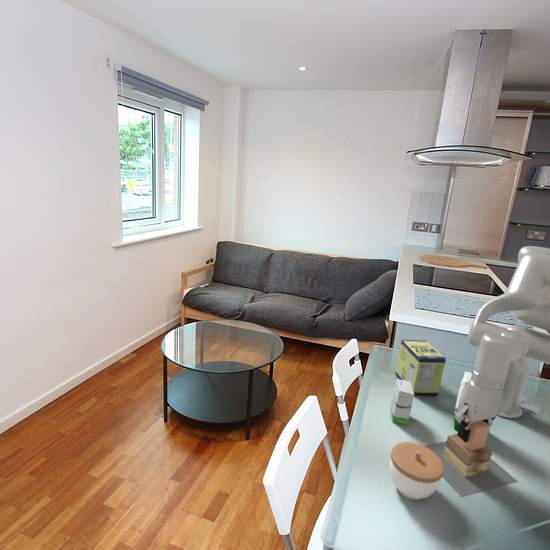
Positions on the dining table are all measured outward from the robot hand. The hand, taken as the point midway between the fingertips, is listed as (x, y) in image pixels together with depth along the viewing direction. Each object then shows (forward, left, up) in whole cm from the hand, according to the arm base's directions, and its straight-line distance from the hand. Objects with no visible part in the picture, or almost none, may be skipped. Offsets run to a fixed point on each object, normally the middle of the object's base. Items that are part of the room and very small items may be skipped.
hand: (471, 436), depth 106 cm
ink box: (+5, -23, -10) cm, 25 cm away
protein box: (-15, -39, -10) cm, 43 cm away
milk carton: (-14, -13, -10) cm, 21 cm away
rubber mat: (0, 0, -10) cm, 10 cm away
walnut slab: (0, 0, -6) cm, 6 cm away
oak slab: (0, 0, -9) cm, 9 cm away
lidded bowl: (+21, +3, -10) cm, 23 cm away
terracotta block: (0, 0, -2) cm, 2 cm away
